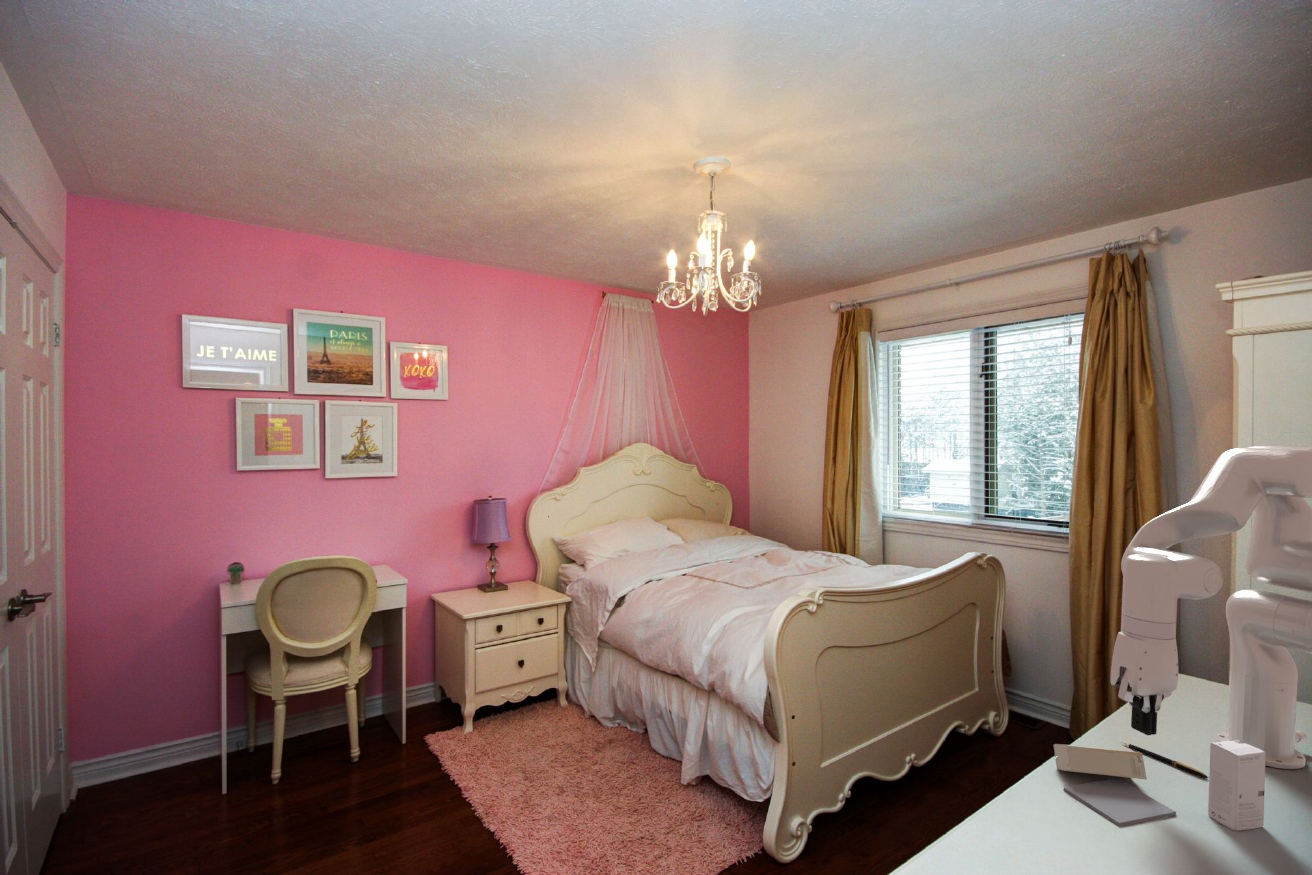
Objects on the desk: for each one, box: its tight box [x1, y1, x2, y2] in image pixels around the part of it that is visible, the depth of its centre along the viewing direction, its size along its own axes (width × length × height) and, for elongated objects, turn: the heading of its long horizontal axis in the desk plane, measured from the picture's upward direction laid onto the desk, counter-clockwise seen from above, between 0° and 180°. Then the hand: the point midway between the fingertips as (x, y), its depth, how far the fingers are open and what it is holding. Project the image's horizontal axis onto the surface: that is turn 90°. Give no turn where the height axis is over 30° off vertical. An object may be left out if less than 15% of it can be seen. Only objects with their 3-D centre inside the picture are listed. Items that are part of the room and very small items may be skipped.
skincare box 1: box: [1053, 743, 1148, 780], centre depth 114 cm, size 6×4×12 cm
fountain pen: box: [1121, 741, 1209, 779], centre depth 121 cm, size 14×1×2 cm, turn 28°
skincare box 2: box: [1207, 740, 1266, 831], centre depth 102 cm, size 6×4×12 cm
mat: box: [1063, 777, 1177, 827], centre depth 107 cm, size 12×10×1 cm
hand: (1143, 730), depth 111 cm, fingers closed
